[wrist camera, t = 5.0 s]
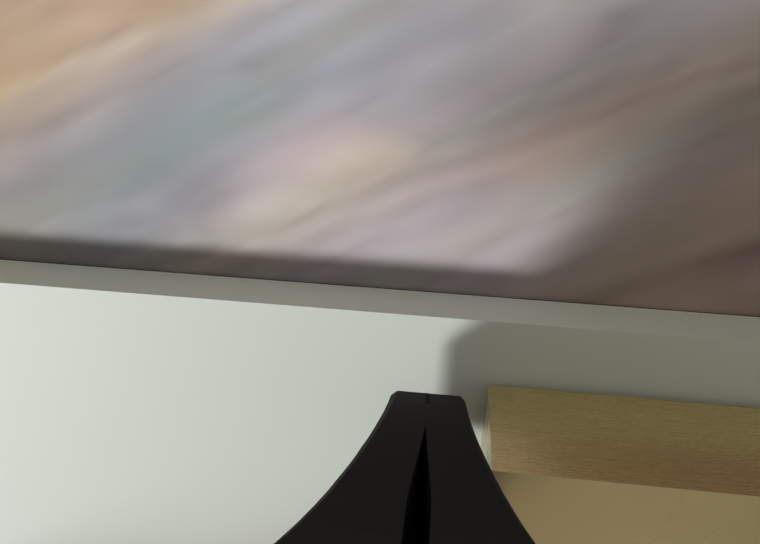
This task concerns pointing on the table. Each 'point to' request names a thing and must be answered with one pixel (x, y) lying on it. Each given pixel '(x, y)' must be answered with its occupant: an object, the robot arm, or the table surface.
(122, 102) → the table surface
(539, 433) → the keeper bar
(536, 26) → the table surface
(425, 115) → the table surface
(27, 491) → the board
